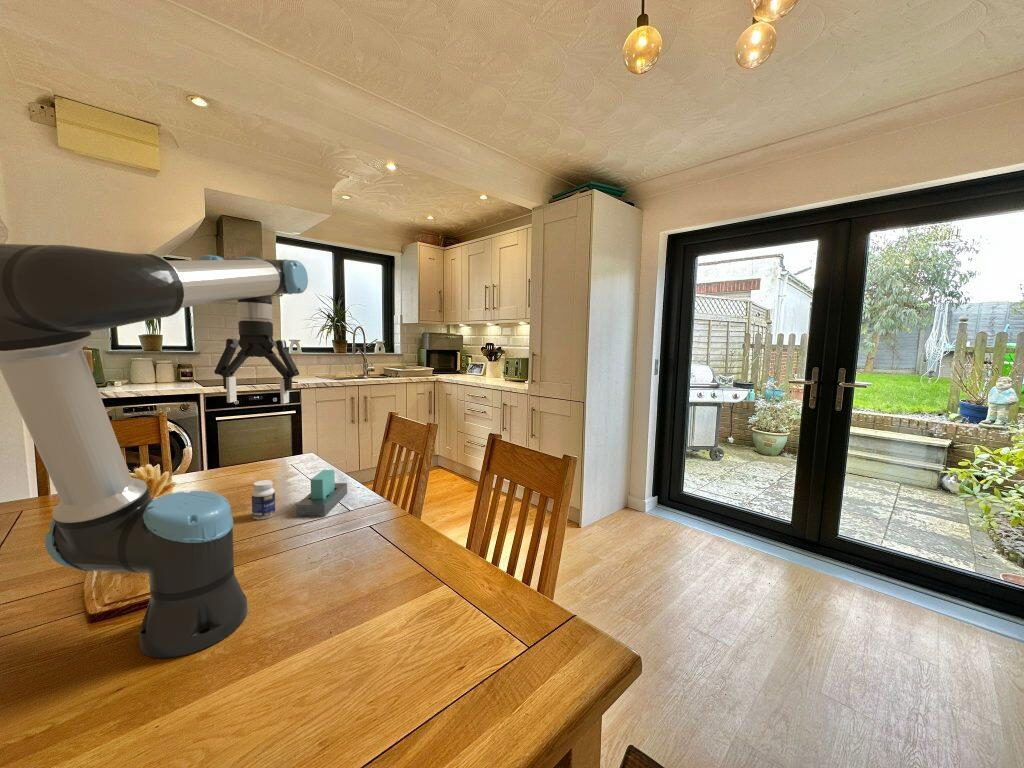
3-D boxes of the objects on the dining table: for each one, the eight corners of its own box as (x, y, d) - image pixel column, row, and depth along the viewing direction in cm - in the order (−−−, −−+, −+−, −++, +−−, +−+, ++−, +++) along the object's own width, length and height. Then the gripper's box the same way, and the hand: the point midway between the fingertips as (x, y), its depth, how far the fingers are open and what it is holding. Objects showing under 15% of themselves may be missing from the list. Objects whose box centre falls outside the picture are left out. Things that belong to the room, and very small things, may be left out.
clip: (323, 508, 122) (322, 479, 121) (311, 508, 122) (310, 479, 121) (334, 497, 131) (334, 469, 130) (323, 496, 130) (323, 469, 129)
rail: (324, 516, 117) (324, 505, 117) (296, 516, 117) (296, 504, 117) (347, 493, 135) (347, 483, 135) (322, 493, 135) (322, 482, 134)
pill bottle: (267, 520, 114) (266, 486, 113) (247, 520, 114) (246, 485, 113) (279, 512, 120) (278, 479, 119) (260, 511, 120) (259, 478, 119)
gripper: (311, 322, 109) (313, 401, 111) (216, 320, 108) (219, 399, 110) (298, 321, 101) (300, 405, 103) (195, 318, 100) (199, 403, 102)
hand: (258, 402), depth 106 cm, fingers open, 13 cm apart
